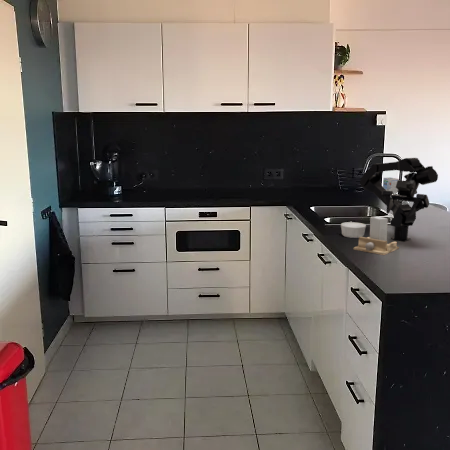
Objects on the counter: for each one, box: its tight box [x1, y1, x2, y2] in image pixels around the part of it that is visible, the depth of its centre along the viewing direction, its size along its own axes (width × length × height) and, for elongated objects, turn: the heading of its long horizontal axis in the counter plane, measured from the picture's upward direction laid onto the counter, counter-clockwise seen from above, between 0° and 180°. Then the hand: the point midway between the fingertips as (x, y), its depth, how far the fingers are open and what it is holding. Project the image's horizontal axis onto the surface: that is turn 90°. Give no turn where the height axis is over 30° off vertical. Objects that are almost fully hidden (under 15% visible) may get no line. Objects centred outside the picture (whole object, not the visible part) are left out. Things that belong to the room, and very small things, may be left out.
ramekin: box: [340, 221, 367, 239], centre depth 229 cm, size 11×11×5 cm
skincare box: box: [369, 216, 389, 242], centre depth 206 cm, size 6×4×12 cm
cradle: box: [353, 236, 400, 256], centre depth 206 cm, size 14×13×5 cm
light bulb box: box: [382, 177, 400, 193], centre depth 363 cm, size 11×7×11 cm, turn 17°
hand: (397, 214), depth 207 cm, fingers open, 9 cm apart
